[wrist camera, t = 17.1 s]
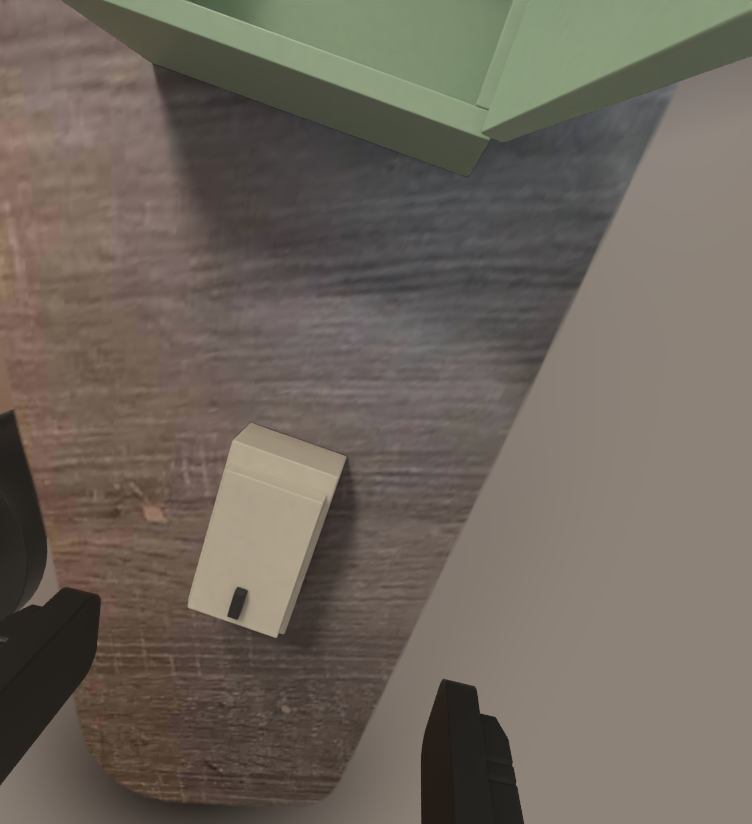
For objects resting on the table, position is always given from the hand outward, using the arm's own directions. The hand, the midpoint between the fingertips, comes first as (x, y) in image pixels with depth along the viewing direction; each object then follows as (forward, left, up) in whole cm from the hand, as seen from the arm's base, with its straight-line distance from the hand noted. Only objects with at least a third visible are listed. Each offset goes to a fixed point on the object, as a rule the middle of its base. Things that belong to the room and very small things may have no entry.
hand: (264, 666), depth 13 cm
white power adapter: (-3, -7, -18) cm, 19 cm away
